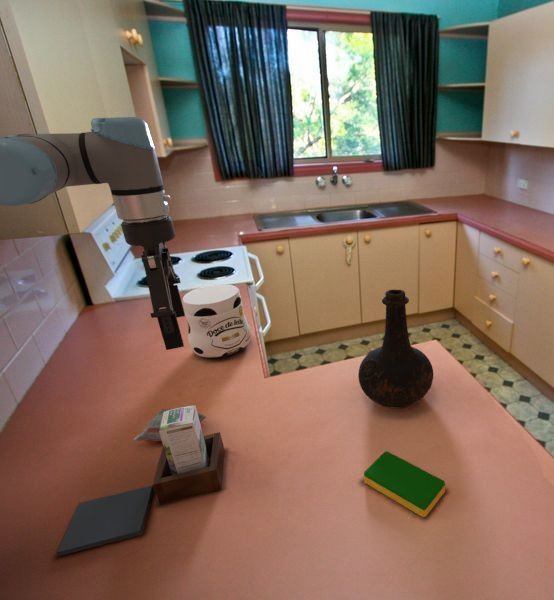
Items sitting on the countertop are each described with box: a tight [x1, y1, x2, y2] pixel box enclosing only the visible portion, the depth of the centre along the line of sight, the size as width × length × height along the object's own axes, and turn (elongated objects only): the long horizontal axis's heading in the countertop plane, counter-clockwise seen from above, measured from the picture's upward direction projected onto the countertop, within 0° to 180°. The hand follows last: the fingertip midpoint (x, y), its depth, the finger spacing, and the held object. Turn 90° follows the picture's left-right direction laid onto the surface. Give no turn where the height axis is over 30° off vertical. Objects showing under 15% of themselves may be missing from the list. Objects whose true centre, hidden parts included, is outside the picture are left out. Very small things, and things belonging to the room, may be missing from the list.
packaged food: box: [133, 408, 206, 442], centre depth 93 cm, size 9×12×5 cm
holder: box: [152, 432, 226, 505], centre depth 82 cm, size 11×11×5 cm
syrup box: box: [159, 405, 211, 475], centre depth 80 cm, size 6×6×14 cm
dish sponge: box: [363, 451, 446, 518], centre depth 79 cm, size 7×14×2 cm, turn 54°
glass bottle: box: [357, 289, 434, 409], centre depth 99 cm, size 18×18×28 cm
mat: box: [56, 485, 155, 557], centre depth 74 cm, size 12×10×1 cm
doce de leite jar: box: [181, 283, 252, 359], centre depth 126 cm, size 17×17×18 cm
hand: (176, 331), depth 79 cm, fingers open, 13 cm apart
